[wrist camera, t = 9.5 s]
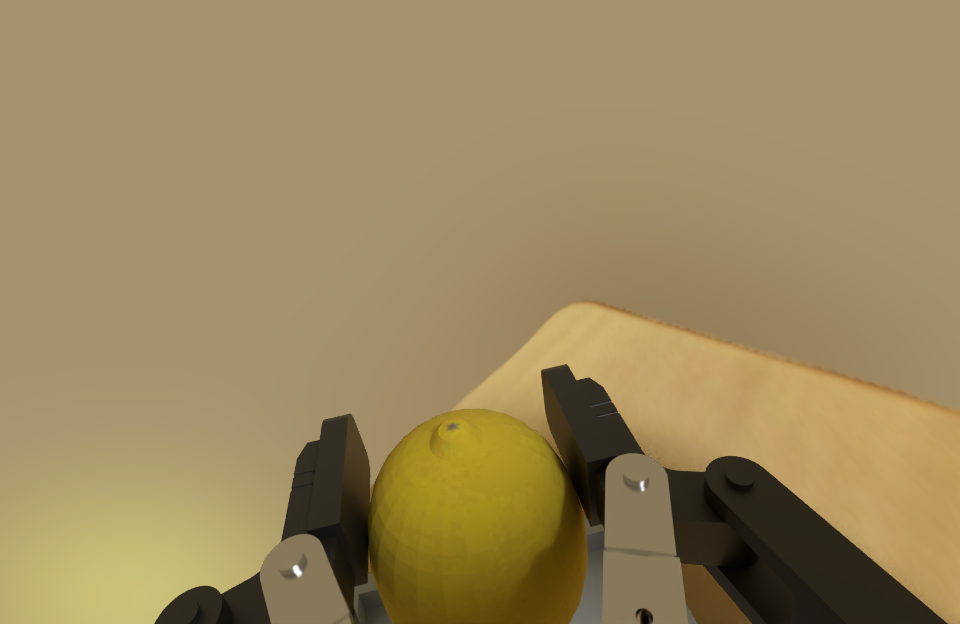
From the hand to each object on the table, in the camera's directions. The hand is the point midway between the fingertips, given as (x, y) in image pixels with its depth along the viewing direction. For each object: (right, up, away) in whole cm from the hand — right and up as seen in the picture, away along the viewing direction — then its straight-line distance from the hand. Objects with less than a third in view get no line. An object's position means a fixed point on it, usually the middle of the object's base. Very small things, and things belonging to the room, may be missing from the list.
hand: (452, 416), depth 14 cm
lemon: (+1, -7, +1) cm, 7 cm away
